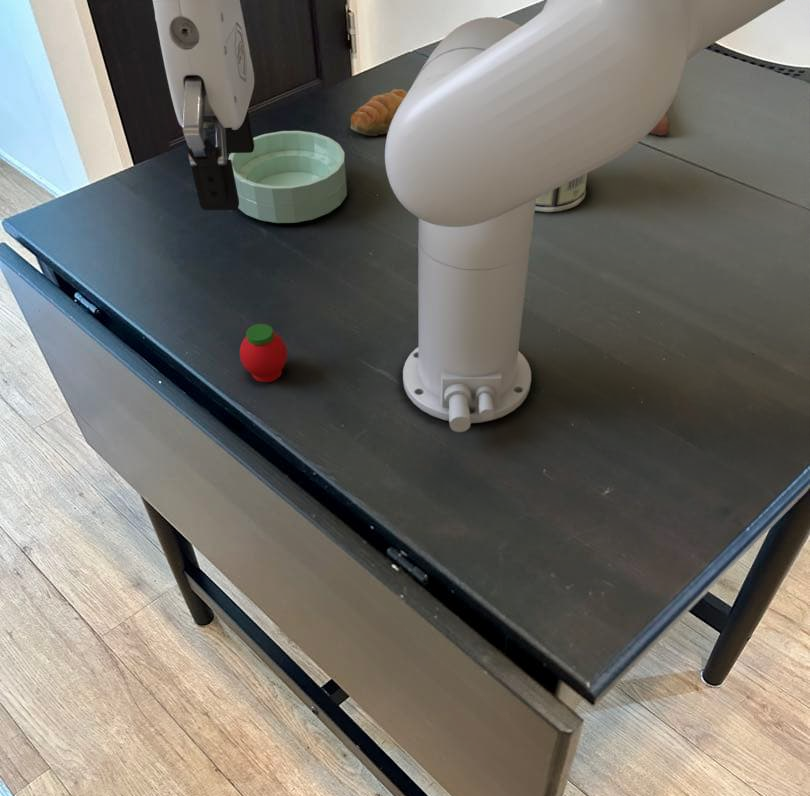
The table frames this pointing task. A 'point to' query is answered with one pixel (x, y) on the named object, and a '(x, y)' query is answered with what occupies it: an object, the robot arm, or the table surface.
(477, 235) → the robot arm
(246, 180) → the bowl
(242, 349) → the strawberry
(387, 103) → the pastry
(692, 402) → the table surface
